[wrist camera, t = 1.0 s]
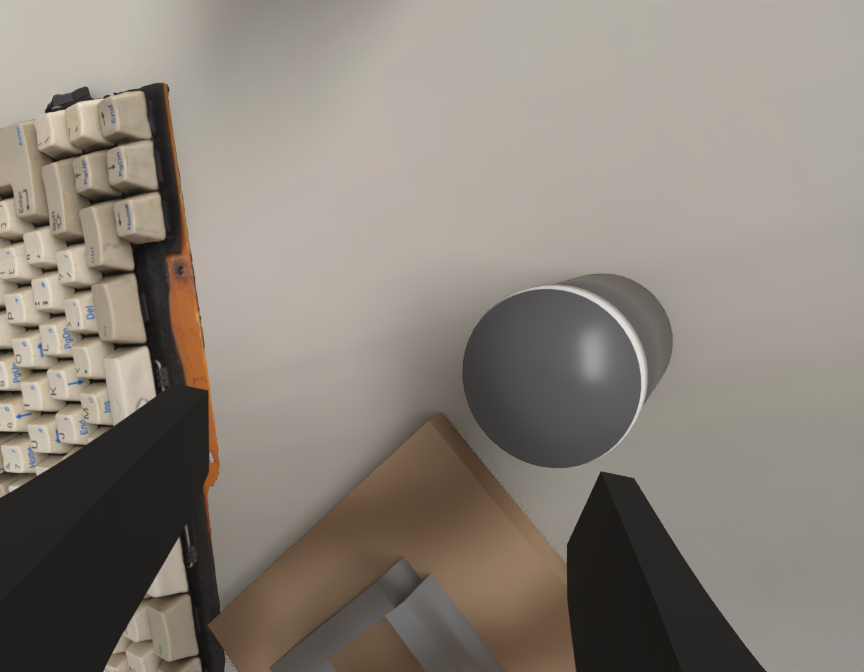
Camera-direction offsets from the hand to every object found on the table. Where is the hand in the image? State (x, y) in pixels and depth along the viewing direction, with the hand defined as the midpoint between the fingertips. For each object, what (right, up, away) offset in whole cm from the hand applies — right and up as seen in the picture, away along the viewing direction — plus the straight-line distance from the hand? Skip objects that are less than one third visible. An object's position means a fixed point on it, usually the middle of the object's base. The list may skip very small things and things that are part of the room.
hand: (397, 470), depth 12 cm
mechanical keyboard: (-18, -4, +26) cm, 32 cm away
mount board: (0, -12, +17) cm, 21 cm away
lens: (+7, +2, +11) cm, 13 cm away
